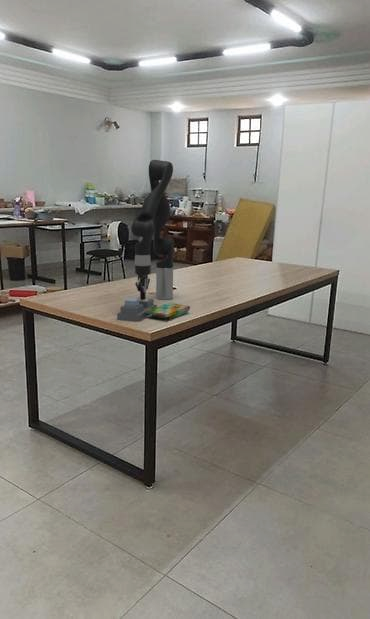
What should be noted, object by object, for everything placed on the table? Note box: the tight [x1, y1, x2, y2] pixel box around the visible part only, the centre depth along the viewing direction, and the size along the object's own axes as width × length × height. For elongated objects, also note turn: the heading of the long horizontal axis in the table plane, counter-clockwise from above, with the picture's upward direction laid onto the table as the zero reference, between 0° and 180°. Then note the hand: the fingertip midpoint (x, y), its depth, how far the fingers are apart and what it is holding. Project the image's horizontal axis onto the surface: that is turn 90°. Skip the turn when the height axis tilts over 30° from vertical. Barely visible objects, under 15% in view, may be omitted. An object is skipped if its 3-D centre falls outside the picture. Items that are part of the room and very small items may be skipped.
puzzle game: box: [146, 302, 191, 321], centre depth 225 cm, size 12×5×20 cm
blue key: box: [124, 297, 139, 308], centre depth 218 cm, size 5×5×3 cm
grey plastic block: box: [116, 297, 158, 323], centre depth 225 cm, size 22×11×6 cm, turn 162°
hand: (142, 299), depth 230 cm, fingers closed
